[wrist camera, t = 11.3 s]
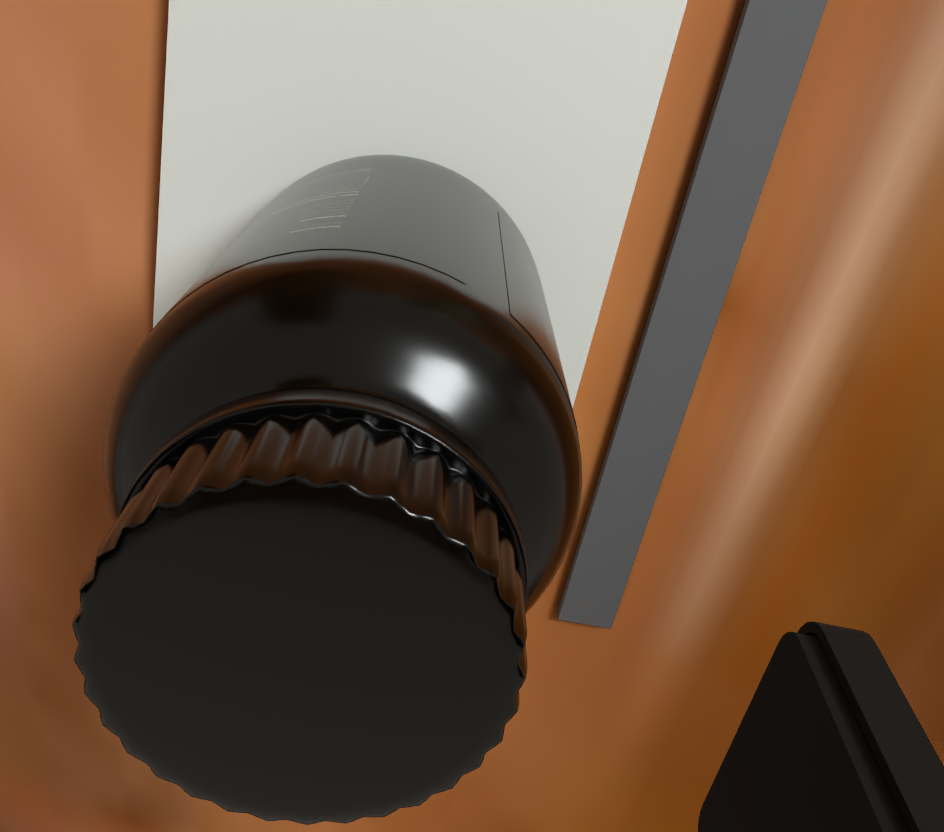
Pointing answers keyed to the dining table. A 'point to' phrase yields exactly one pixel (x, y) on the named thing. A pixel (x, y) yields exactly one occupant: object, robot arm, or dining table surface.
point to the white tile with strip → (494, 170)
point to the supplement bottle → (334, 502)
